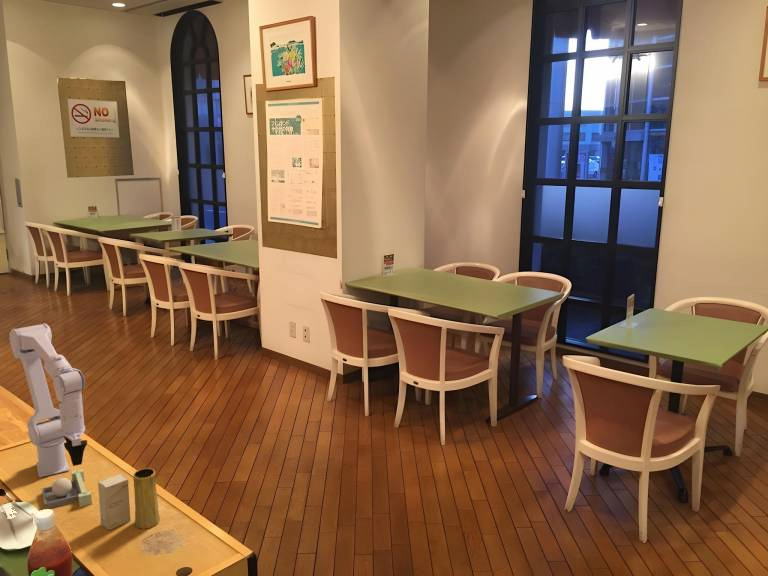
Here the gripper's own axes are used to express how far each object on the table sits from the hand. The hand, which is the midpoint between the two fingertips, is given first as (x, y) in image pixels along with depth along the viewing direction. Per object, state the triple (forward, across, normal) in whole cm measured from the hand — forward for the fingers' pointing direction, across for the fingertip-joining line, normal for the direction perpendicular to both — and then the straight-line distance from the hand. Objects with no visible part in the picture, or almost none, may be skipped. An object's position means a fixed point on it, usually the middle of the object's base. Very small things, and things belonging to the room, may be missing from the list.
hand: (75, 458), depth 178 cm
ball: (+7, +2, -4) cm, 8 cm away
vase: (+10, +25, +14) cm, 30 cm away
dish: (+10, +2, -4) cm, 11 cm away
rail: (+10, +2, +1) cm, 10 cm away
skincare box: (+10, +21, +7) cm, 25 cm away
